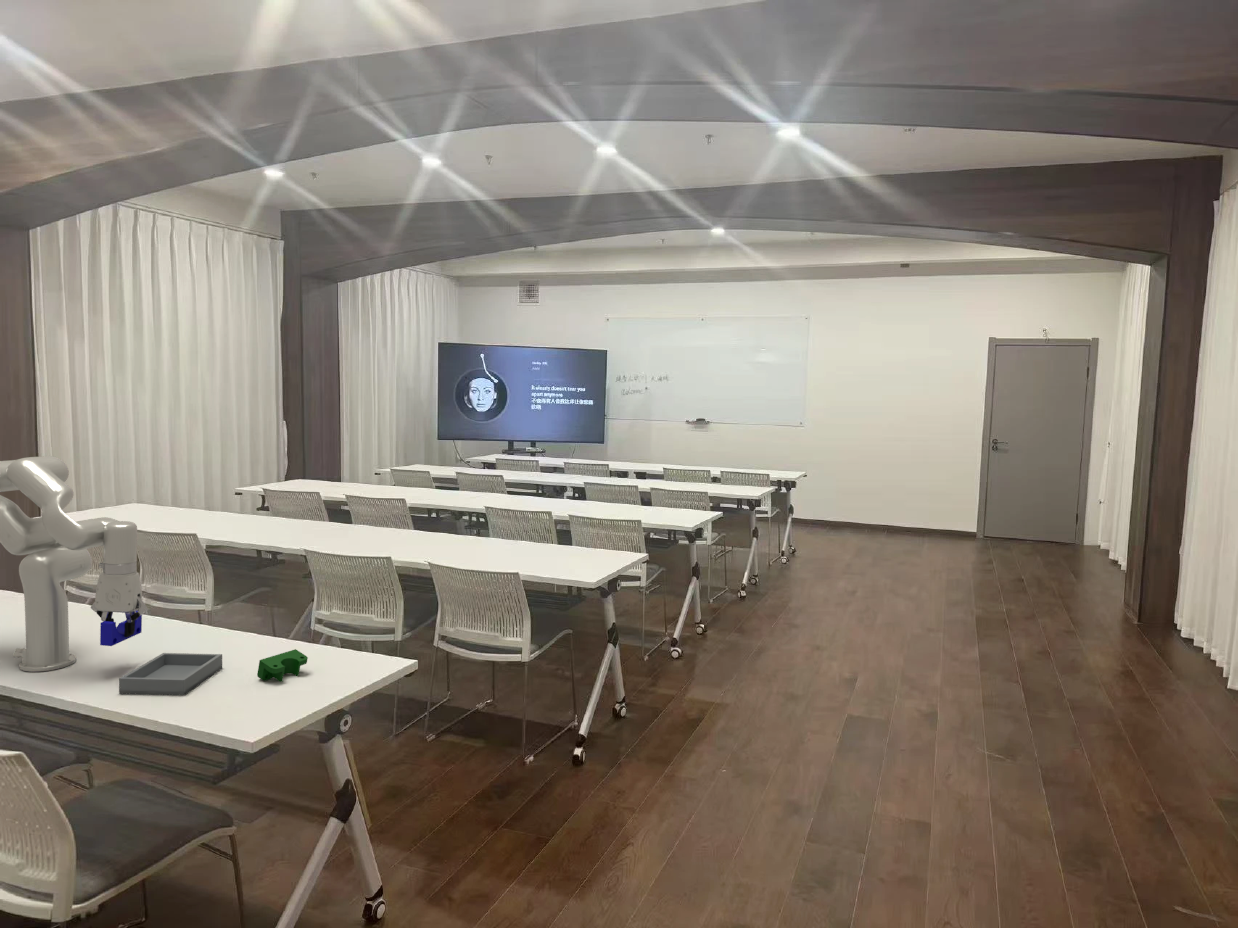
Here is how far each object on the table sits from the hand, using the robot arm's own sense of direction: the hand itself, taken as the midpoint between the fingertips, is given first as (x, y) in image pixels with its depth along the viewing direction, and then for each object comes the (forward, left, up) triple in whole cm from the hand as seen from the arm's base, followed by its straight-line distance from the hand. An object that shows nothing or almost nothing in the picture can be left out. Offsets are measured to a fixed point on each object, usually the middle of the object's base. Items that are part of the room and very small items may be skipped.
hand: (119, 634), depth 211 cm
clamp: (+44, -1, -11) cm, 45 cm away
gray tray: (+17, -5, -10) cm, 21 cm away
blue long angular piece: (0, 0, -1) cm, 1 cm away
